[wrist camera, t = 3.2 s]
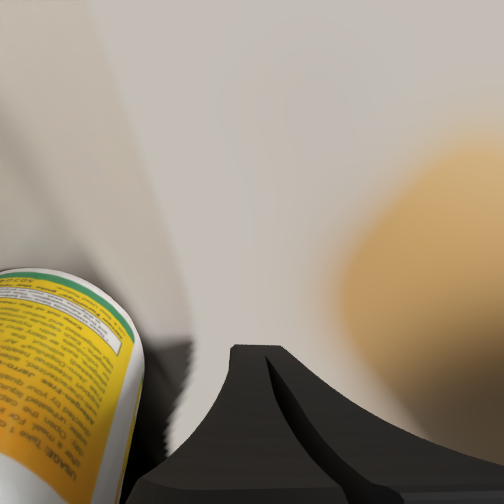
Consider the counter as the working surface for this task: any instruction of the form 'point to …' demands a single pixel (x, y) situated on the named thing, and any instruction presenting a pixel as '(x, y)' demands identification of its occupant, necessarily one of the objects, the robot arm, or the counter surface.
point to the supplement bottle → (65, 389)
